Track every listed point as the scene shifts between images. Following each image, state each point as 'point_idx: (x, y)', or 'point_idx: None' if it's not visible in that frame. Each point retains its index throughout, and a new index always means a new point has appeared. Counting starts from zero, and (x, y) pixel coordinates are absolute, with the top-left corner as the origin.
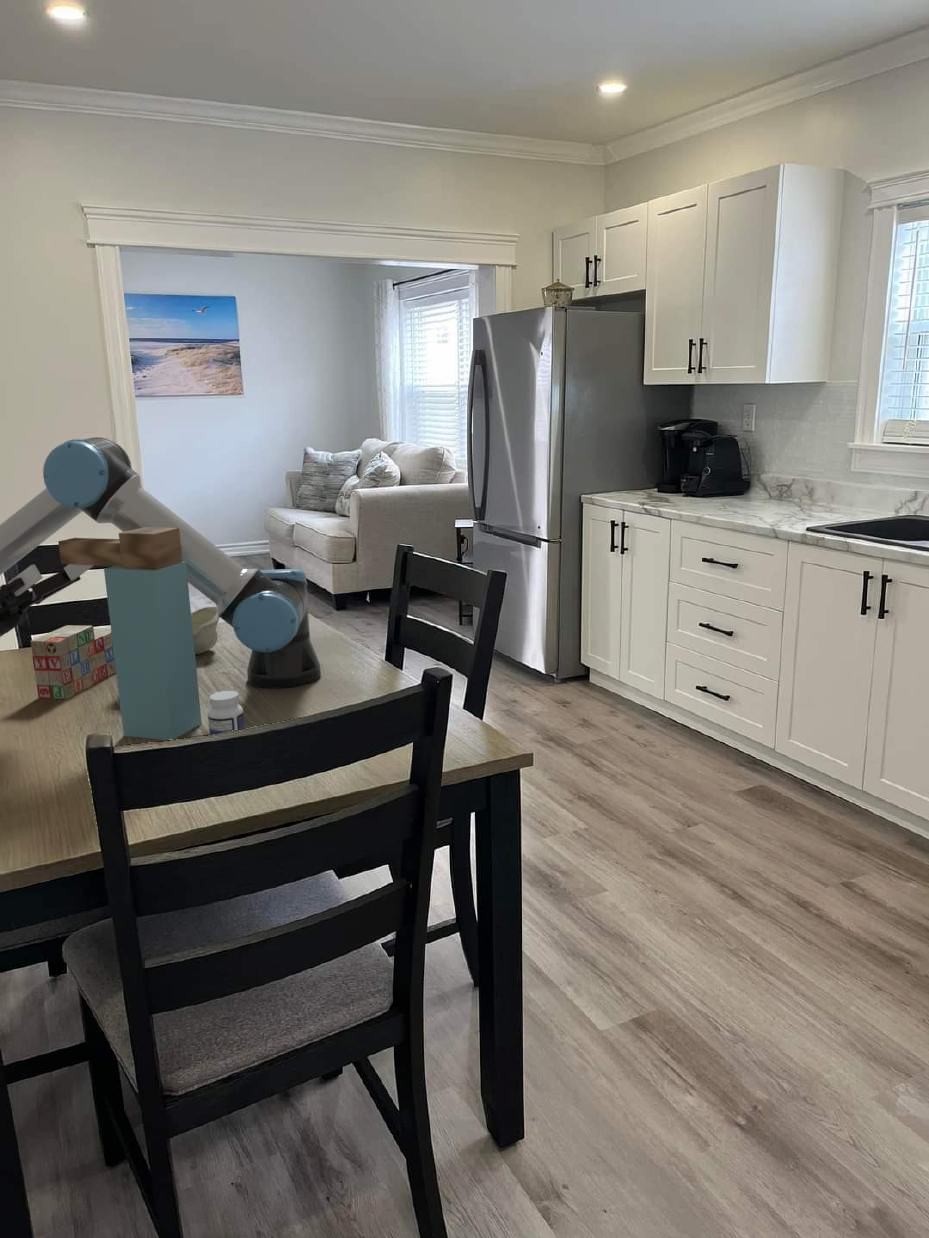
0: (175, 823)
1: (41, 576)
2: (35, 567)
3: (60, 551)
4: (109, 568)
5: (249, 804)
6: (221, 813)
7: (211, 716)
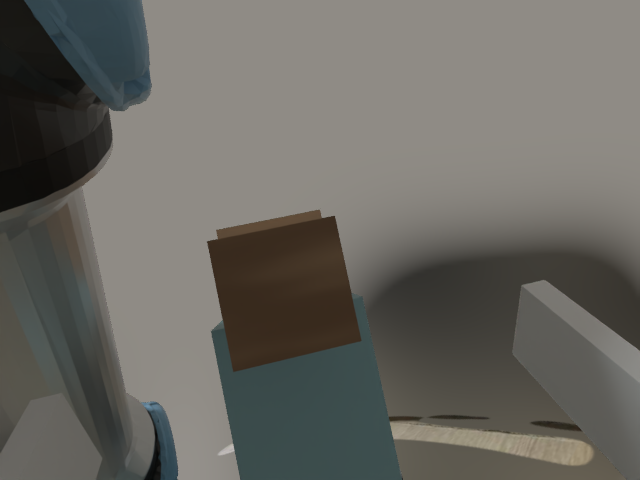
0: (548, 448)
1: (515, 346)
2: (525, 300)
3: (345, 270)
4: (352, 297)
5: (470, 442)
6: (500, 442)
7: (401, 474)
